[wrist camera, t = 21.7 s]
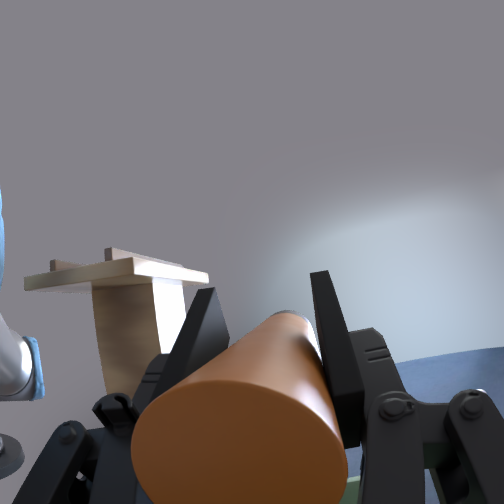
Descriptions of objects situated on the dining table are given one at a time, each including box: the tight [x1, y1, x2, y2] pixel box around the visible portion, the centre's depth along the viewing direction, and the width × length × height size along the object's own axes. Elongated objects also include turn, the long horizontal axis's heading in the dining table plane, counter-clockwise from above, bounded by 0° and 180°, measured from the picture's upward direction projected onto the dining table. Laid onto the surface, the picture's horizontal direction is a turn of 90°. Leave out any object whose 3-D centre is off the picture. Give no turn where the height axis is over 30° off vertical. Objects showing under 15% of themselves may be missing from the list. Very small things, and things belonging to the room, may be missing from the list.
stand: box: [24, 247, 209, 400], centre depth 21 cm, size 12×14×31 cm
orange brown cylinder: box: [131, 310, 348, 504], centre depth 13 cm, size 4×19×4 cm, turn 171°
